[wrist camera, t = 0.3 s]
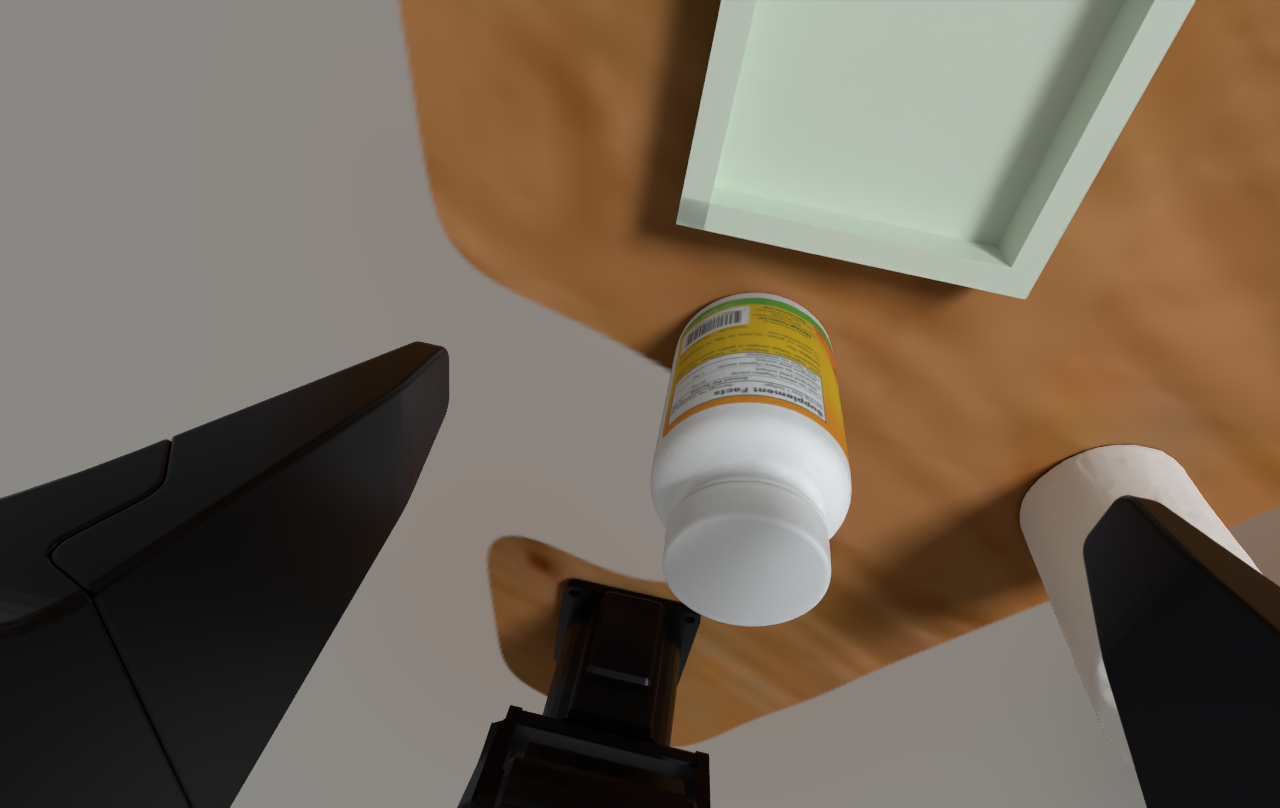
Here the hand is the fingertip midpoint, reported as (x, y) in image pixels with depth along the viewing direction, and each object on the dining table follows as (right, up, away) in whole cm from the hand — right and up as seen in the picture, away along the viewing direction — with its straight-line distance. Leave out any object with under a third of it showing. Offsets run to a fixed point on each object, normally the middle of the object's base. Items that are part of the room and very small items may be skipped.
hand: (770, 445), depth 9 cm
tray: (+5, +10, +8) cm, 14 cm away
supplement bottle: (+2, +2, +15) cm, 15 cm away
